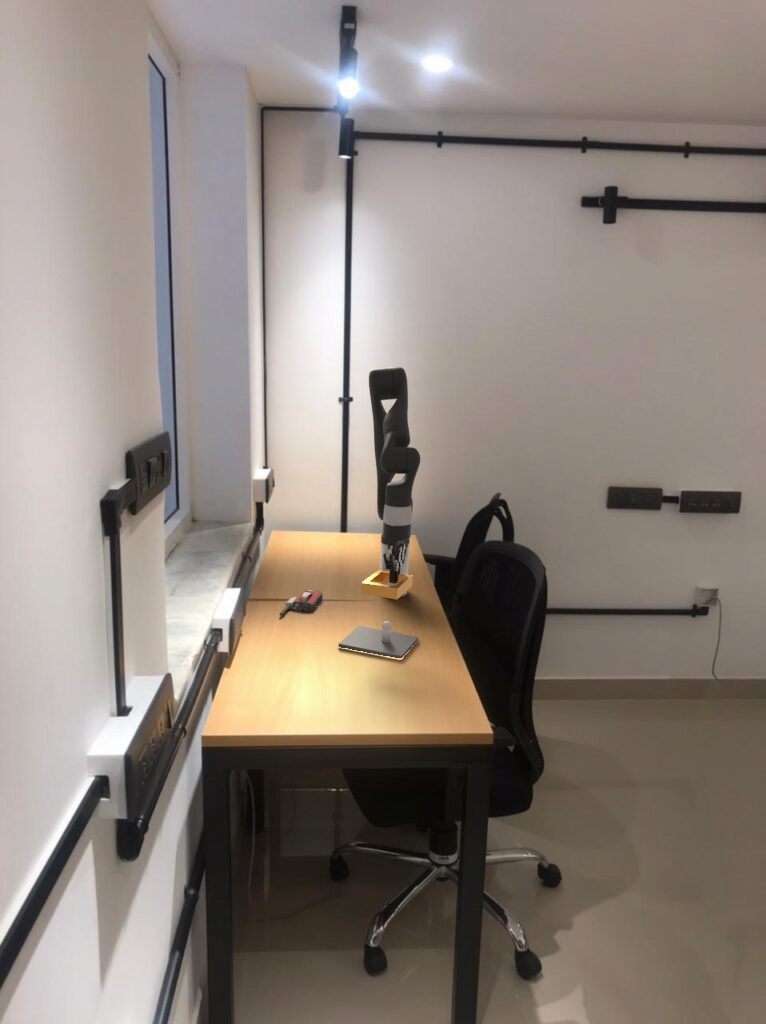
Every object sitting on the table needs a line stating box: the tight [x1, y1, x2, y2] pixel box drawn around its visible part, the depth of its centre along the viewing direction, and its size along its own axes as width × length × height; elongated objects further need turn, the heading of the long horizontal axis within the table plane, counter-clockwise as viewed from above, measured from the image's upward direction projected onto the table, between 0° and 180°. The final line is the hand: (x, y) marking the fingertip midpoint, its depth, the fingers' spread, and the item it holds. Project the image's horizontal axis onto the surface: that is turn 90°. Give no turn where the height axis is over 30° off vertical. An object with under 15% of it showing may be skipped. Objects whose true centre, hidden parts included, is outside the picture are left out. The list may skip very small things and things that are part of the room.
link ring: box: [361, 569, 414, 600], centre depth 205 cm, size 12×10×3 cm
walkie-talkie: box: [279, 589, 323, 617], centre depth 235 cm, size 9×4×20 cm
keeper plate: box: [338, 620, 419, 658], centre depth 209 cm, size 14×18×7 cm
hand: (394, 581), depth 210 cm, fingers closed on link ring, 1 cm apart
